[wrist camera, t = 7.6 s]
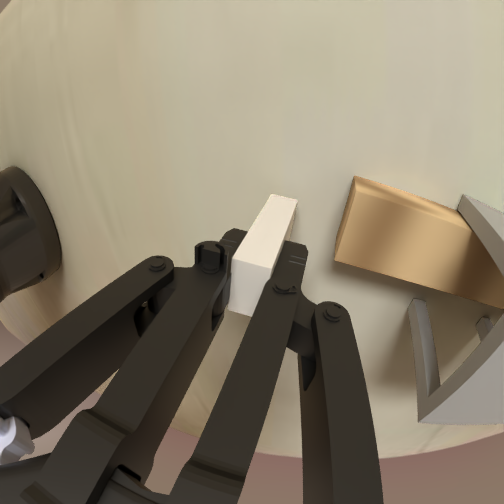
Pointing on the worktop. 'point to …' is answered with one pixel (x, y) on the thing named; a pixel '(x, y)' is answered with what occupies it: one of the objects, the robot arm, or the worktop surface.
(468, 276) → the tan long bar
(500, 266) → the tunnel
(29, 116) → the worktop surface
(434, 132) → the worktop surface
